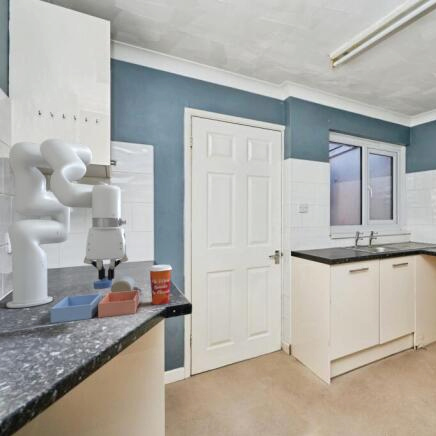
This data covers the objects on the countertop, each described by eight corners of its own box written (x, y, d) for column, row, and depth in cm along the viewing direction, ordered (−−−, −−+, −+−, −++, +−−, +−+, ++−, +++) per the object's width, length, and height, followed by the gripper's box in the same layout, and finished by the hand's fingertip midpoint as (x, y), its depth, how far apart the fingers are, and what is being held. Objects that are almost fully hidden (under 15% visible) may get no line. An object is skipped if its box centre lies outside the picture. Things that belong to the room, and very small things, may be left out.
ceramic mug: (109, 299, 123) (110, 279, 123) (114, 294, 131) (114, 276, 131) (140, 296, 128) (141, 278, 128) (143, 292, 135) (143, 274, 135)
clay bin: (107, 304, 116) (107, 292, 116) (139, 301, 120) (139, 289, 120) (98, 317, 101) (98, 303, 101) (135, 313, 106) (135, 300, 106)
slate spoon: (100, 281, 101) (100, 275, 101) (116, 280, 103) (116, 274, 103) (92, 289, 91) (92, 283, 91) (110, 288, 93) (110, 282, 93)
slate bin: (66, 309, 110) (66, 296, 110) (101, 305, 115) (101, 293, 115) (50, 323, 96) (50, 308, 96) (91, 318, 100) (91, 304, 100)
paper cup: (148, 306, 114) (148, 268, 114) (149, 301, 121) (149, 265, 120) (172, 303, 117) (172, 266, 117) (172, 298, 124) (172, 263, 124)
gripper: (136, 223, 106) (136, 277, 106) (79, 223, 99) (79, 281, 99) (133, 224, 99) (133, 281, 99) (72, 224, 92) (72, 286, 93)
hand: (106, 281), depth 99 cm, fingers closed on slate spoon, 1 cm apart
